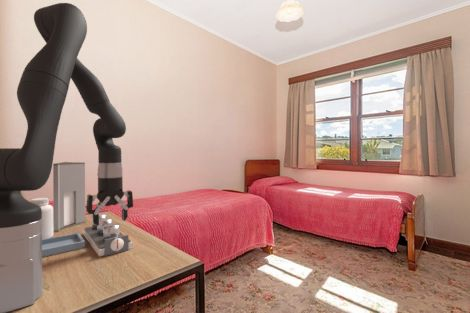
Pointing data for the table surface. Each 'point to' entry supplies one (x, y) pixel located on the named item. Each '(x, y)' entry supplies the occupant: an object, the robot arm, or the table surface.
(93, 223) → the cylinder
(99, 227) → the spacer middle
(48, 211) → the pill bottle
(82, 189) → the cabinet
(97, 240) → the scale
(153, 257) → the table surface
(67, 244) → the tray
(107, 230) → the cylinder
